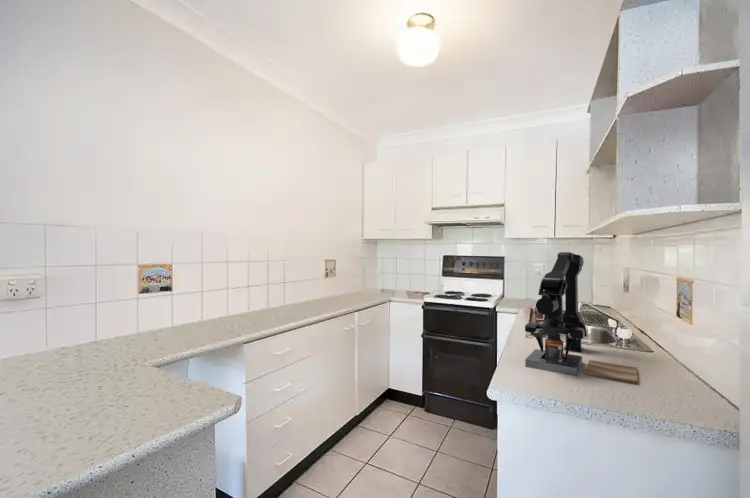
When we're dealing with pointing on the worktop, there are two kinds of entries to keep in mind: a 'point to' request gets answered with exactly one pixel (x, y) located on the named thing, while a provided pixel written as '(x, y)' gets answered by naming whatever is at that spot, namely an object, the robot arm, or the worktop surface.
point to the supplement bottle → (554, 348)
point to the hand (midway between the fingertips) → (554, 353)
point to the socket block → (554, 363)
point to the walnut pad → (612, 372)
